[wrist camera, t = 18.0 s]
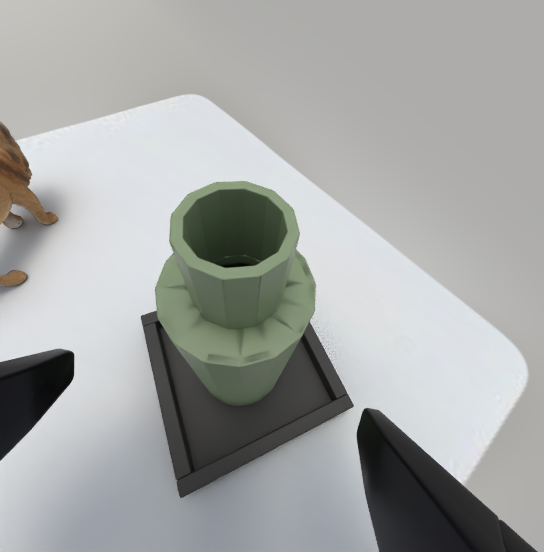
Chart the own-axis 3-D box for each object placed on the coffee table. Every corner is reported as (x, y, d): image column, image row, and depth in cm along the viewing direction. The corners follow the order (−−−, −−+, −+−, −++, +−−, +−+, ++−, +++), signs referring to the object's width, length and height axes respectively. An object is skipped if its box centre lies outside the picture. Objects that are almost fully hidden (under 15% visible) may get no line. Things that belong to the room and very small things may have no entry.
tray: (345, 408, 18) (354, 406, 16) (186, 493, 15) (179, 498, 14) (279, 279, 23) (281, 268, 21) (147, 324, 20) (140, 315, 18)
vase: (231, 425, 16) (196, 389, 4) (187, 356, 18) (79, 201, 6) (294, 371, 18) (387, 245, 6) (249, 314, 20) (257, 134, 8)
